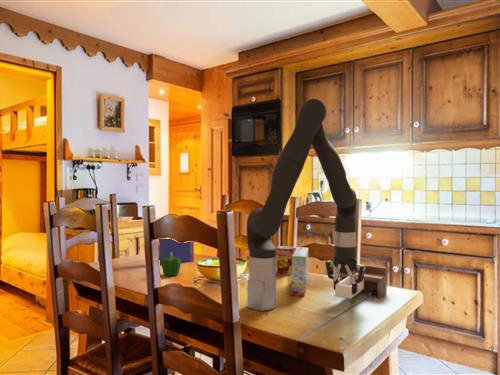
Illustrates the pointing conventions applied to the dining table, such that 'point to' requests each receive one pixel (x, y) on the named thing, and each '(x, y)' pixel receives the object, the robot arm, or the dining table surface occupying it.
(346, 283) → the tray shell
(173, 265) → the bell pepper
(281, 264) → the canned food
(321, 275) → the dining table surface
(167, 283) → the dining table surface
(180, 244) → the cereal box
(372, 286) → the cubby
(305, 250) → the snack box
